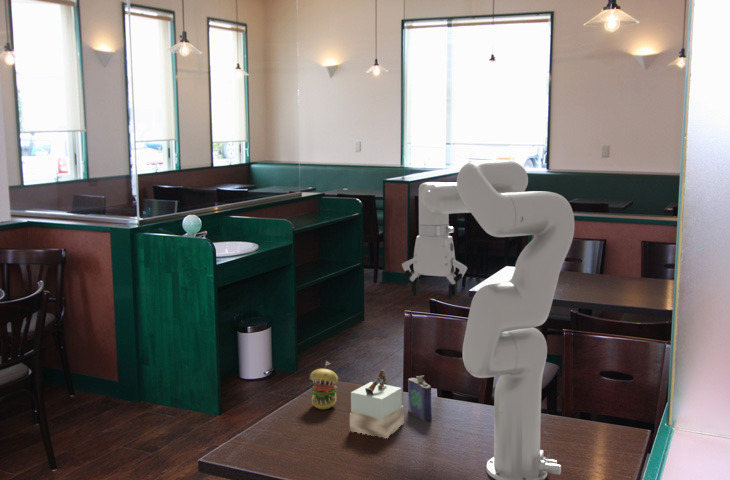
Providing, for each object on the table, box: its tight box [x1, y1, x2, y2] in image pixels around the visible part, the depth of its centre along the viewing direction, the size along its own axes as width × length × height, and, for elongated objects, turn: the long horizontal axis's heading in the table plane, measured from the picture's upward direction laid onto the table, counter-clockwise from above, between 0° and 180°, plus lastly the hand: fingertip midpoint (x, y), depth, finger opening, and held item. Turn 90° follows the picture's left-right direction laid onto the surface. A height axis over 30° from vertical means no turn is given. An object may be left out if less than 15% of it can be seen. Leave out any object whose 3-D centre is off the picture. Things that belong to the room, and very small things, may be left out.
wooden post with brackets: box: [365, 369, 388, 395], centre depth 171 cm, size 2×8×4 cm, turn 146°
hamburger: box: [309, 360, 339, 410], centre depth 186 cm, size 8×7×12 cm
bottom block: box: [349, 405, 405, 439], centre depth 172 cm, size 10×10×5 cm
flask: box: [407, 375, 433, 423], centre depth 179 cm, size 9×3×11 cm, turn 28°
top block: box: [350, 381, 403, 419], centre depth 171 cm, size 9×9×5 cm
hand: (434, 297), depth 179 cm, fingers open, 9 cm apart
